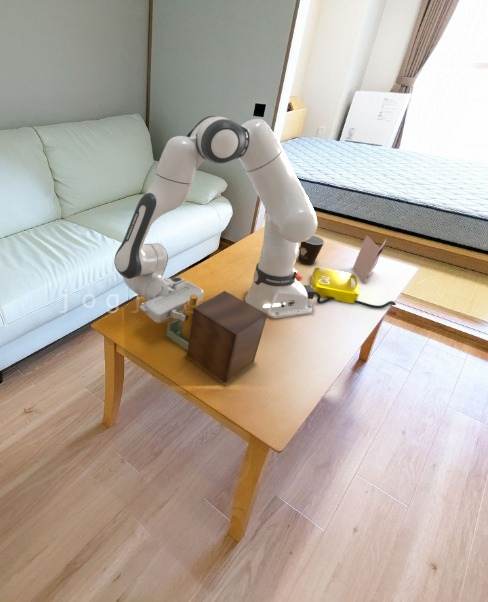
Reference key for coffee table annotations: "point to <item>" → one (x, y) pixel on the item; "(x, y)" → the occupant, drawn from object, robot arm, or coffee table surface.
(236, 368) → the cabinet
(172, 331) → the green pull-out drawer
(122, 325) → the coffee table surface
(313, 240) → the coffee mug
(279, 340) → the coffee table surface
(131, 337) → the coffee table surface
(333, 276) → the element tile
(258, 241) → the coffee table surface
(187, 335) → the bottle
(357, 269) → the greeting card
